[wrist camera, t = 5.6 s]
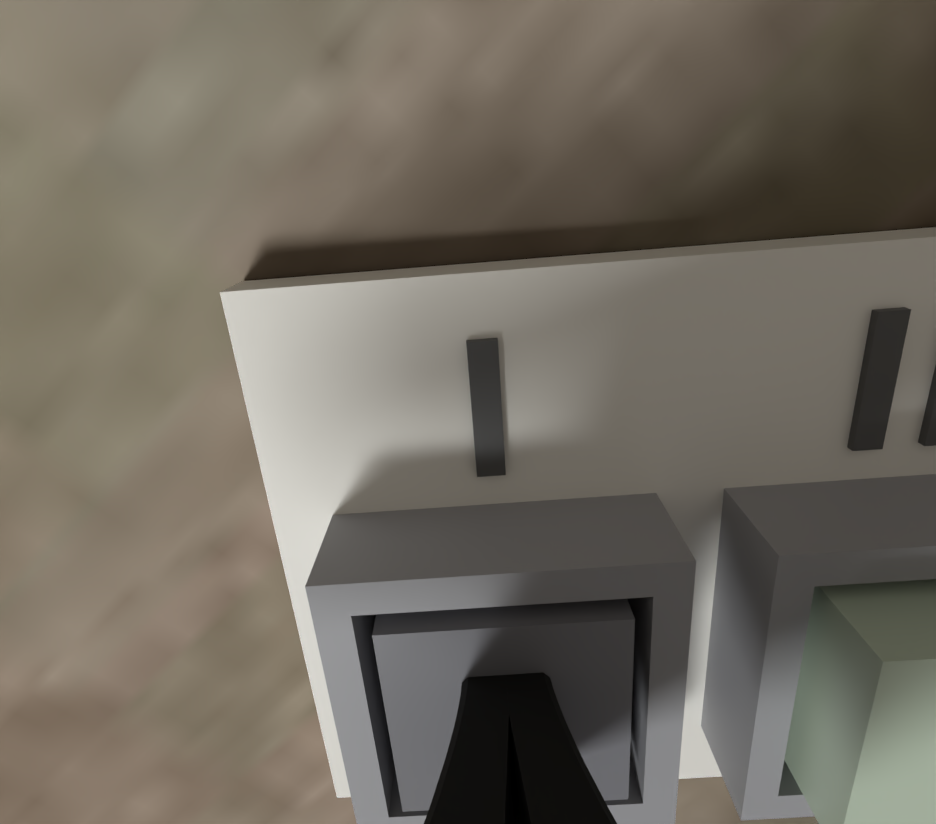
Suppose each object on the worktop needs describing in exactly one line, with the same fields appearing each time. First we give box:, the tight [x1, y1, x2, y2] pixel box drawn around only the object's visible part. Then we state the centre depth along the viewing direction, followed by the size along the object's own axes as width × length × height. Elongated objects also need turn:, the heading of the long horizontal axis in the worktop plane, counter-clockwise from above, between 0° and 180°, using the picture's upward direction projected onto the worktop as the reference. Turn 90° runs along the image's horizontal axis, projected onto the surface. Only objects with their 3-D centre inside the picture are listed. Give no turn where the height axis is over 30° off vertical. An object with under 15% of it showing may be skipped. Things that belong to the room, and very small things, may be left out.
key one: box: [372, 599, 635, 812], centre depth 11 cm, size 4×4×2 cm
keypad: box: [220, 227, 936, 824], centre depth 11 cm, size 12×22×3 cm, turn 94°
